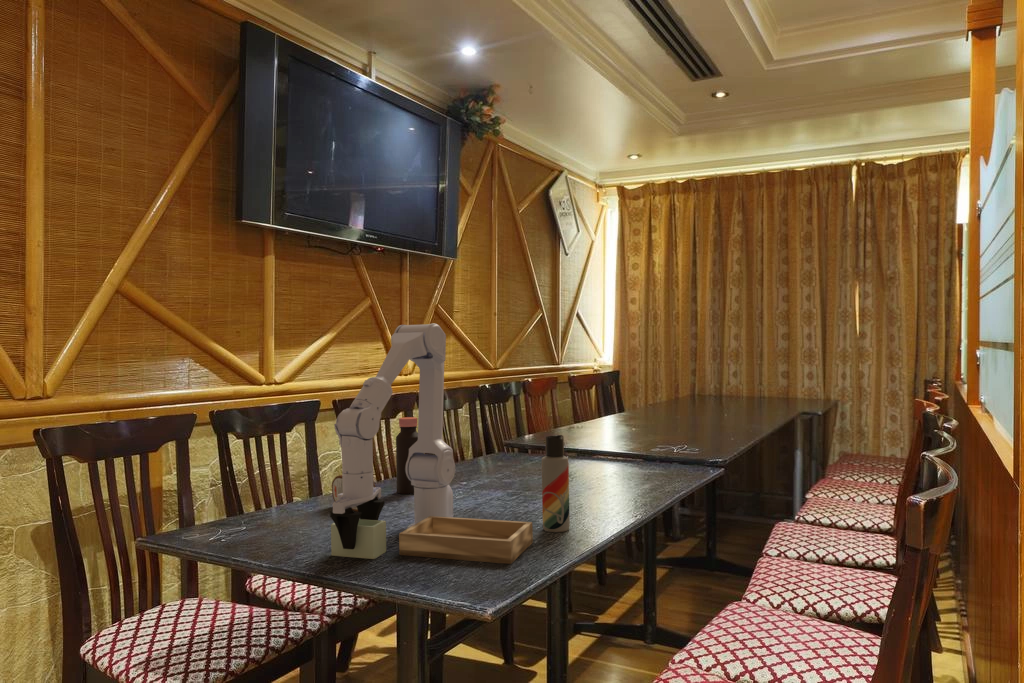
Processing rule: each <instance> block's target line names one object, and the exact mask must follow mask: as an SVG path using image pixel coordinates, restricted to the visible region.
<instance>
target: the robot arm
mask: <svg viewBox="0 0 1024 683" xmlns="http://www.w3.org/2000/svg"><path fill="white" fill-rule="evenodd" d="M446 341H447V335H446V333H445V331H444V330H443V329H442V327H441V325H439V324H437V323H433V322H432V323H429V324H427V323H426V324H400V325H398V326H397V327H396V328H395V330H394V332H393V333H392V335H391V336H390V343H391V347H390V349H389V351H388V353H387V354H386V356H385V358H384V360H383V362H382V364H381V366H380V368H379V370H378V371H377V374H376V376H373V377H369V378H367V379H365V380H364V382H363V383H362V385H363V386H362V387H361V388H360V390H359V392H358V393H357V395H356V396H355V398H354V400H353V401H352V403H351V405H350V406H349V408H348V407H347V408H345V409H343V410H342V411H341V412H340V413H339V414H338V415H337V418H336V422H335V423H334V424H333V426H334V431H335V434H336V435H337V436H338V440H339V445H340V447H341V464H342V466H341V469H342V470H341V472H342V473H341V475H342V479H343V493H341V494H338V498H339V499H338V500H337V501H336V502H335V501H334V502H332V510H330V512H329V516H330V518H331V519H332V521H333V523H335V525H336V527H337V529H338V532H339V535H340V539H341V542H342V546H343V549H354V548H355V544H356V533H357V526H358V522H359V519H366V520H379V518H380V515H381V512H382V510H383V508H384V506H386V504H385V502H386V500H385V499H381V498H382V487H378V486H376V487H373V482H374V465H373V464H374V457H373V456H374V454H373V453H374V451H373V450H374V448H373V447H374V446H373V440H374V439H373V438H375V436H376V435H377V433H378V432H379V429H380V424H381V423H380V420H381V418H382V412H383V411H384V409H385V407H386V406H387V404H388V402H389V401H390V398H391V397H392V395H393V388H392V384H393V383H394V382H395V380H396V379H397V377H398V376H399V375H400V374H401V372H402V370H404V368H405V366H406V365H407V364H408V362H409V361H411V362H413V363H414V364H415V365H416V366H417V367H418V369H419V379H418V380H419V381H418V382H419V385H418V388H419V390H418V391H419V392H418V418H417V432H418V440H417V441H416V442H415V443H414V444H413V445H412V446H411V447H410V448H409V456H408V460H407V462H406V467H405V470H406V475H407V477H408V479H409V480H410V481H411V485H414V494H413V500H414V501H413V503H414V504H413V507H414V510H413V511H414V514H413V516H414V522H413V523H411V524H410V525H407V528H406V529H408V528H410V527H412V526H413V525H415V524H417V523H419V522H420V521H422V520H424V519H426V518H428V517H429V516H439V517H454V492H453V490H452V487H451V486H450V485H451V482H452V480H454V478H455V477H454V476H455V474H456V464H455V461H454V450H453V448H452V447H451V446H450V445H448V444H447V443H446V442H445V441H444V440H443V433H444V432H443V430H444V429H443V428H444V426H443V425H444V396H445V395H444V391H445V390H444V388H445V387H444V386H445V361H446V354H447V353H446V352H447V351H446V350H447V349H446V347H447V346H446V345H447V342H446ZM353 507H357V509H358V512H357V511H354V510H352V508H353Z"/></svg>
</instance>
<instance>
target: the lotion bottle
mask: <svg viewBox="0 0 1024 683" xmlns="http://www.w3.org/2000/svg"><path fill="white" fill-rule="evenodd" d="M564 439H565V438H564V435H562V434H556V435H555V434H554V435H548V436H545V456H543V457H542V458H541V499H542V500H541V501H542V502H541V503H542V504H541V505H542V506H541V510H542V512H541V513H542V529H543V530H544V531H545V532H549V533H562V532H563V533H564V532H567V531H569V530H570V523H571V521H570V517H571V516H570V479H569V478H570V474H569V472H570V468H569V467H570V466H569V457H567V456H565V441H564Z"/></svg>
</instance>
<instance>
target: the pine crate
mask: <svg viewBox="0 0 1024 683" xmlns="http://www.w3.org/2000/svg"><path fill="white" fill-rule="evenodd" d="M533 527H534V526H533V521H520V520H519V521H516V520H501V519H484V518H470V517H469V518H468V517H454V516H453V517H439V516H429V517H428V518H426V519H424V520H422V521H420V522H419V523H417V524H415V525H413V526H412V527H410V528H406V529H405V530H403V531H401V532H399V534H398V541H399V542H398V543H399V546H398V547H399V555H400V556H408V557H422V558H433V559H435V558H436V559H444V560H445V559H447V560H456V561H457V560H458V561H471V562H480V563H481V562H482V563H484V562H485V563H496V564H506V565H507V564H509V565H512V564H513V563H514V562H515V561H516V560H517V559H518V557H520V556H521V555H522V554H523V553H524V552H525V551H526V550H527V549H528V548H529V547H530V546H531V545H532V544H533V543H534V540H533V539H534V535H533V534H534V529H533Z"/></svg>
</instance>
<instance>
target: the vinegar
mask: <svg viewBox="0 0 1024 683" xmlns="http://www.w3.org/2000/svg"><path fill="white" fill-rule="evenodd" d="M398 427H399V429H400V431H399V433H398V434H396V436H395V450H396V452H395V457H396V460H395V462H396V463H395V464H396V468H395V469H396V493H397V494H400V495H414V485H411V481H410V480H409V479H408V477H407V475H406V470H405V467H406V462H407V460H408V456H409V448H410V447H411V446H412V445H413V444H414V443H415V442H416V441H417V440H418V430H417V429H418V418H417V417H415V416H411V417H410V416H409V417H408V416H407V417H405V416H404V417H399V418H398Z"/></svg>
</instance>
